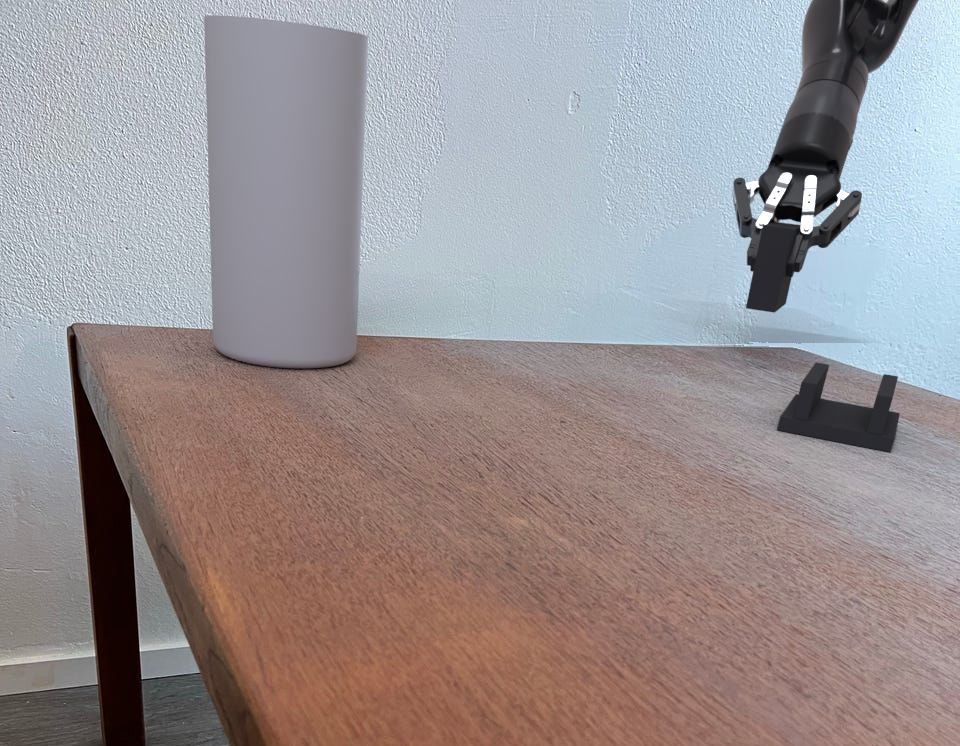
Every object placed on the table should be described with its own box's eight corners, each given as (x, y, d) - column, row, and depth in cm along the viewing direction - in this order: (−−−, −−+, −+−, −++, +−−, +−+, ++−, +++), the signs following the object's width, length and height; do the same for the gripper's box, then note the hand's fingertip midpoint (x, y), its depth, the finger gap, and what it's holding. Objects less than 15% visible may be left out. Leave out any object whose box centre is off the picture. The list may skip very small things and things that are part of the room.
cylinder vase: (325, 378, 82) (334, 25, 70) (187, 356, 84) (173, 10, 72) (374, 351, 93) (389, 43, 81) (250, 333, 95) (247, 29, 83)
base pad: (792, 406, 89) (804, 360, 87) (896, 426, 87) (910, 378, 85) (776, 430, 81) (789, 379, 79) (890, 452, 78) (906, 400, 76)
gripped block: (758, 300, 108) (774, 221, 105) (785, 304, 107) (803, 225, 104) (745, 308, 102) (762, 224, 98) (774, 312, 101) (793, 228, 97)
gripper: (750, 104, 104) (703, 233, 100) (888, 116, 100) (846, 252, 95) (748, 160, 111) (704, 284, 107) (877, 174, 107) (838, 303, 102)
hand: (772, 268), depth 101 cm, fingers closed on gripped block, 3 cm apart
